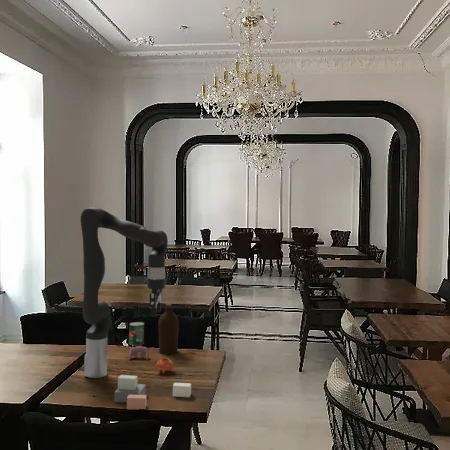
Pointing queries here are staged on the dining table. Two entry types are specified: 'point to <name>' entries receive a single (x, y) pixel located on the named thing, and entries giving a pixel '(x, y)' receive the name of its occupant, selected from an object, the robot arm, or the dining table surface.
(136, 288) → the dining table surface
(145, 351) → the video game controller
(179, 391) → the cream brick
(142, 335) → the canned tomato
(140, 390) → the charcoal block
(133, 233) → the robot arm
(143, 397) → the terracotta brick
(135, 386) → the sage brick
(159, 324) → the brown bottle
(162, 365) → the pot
